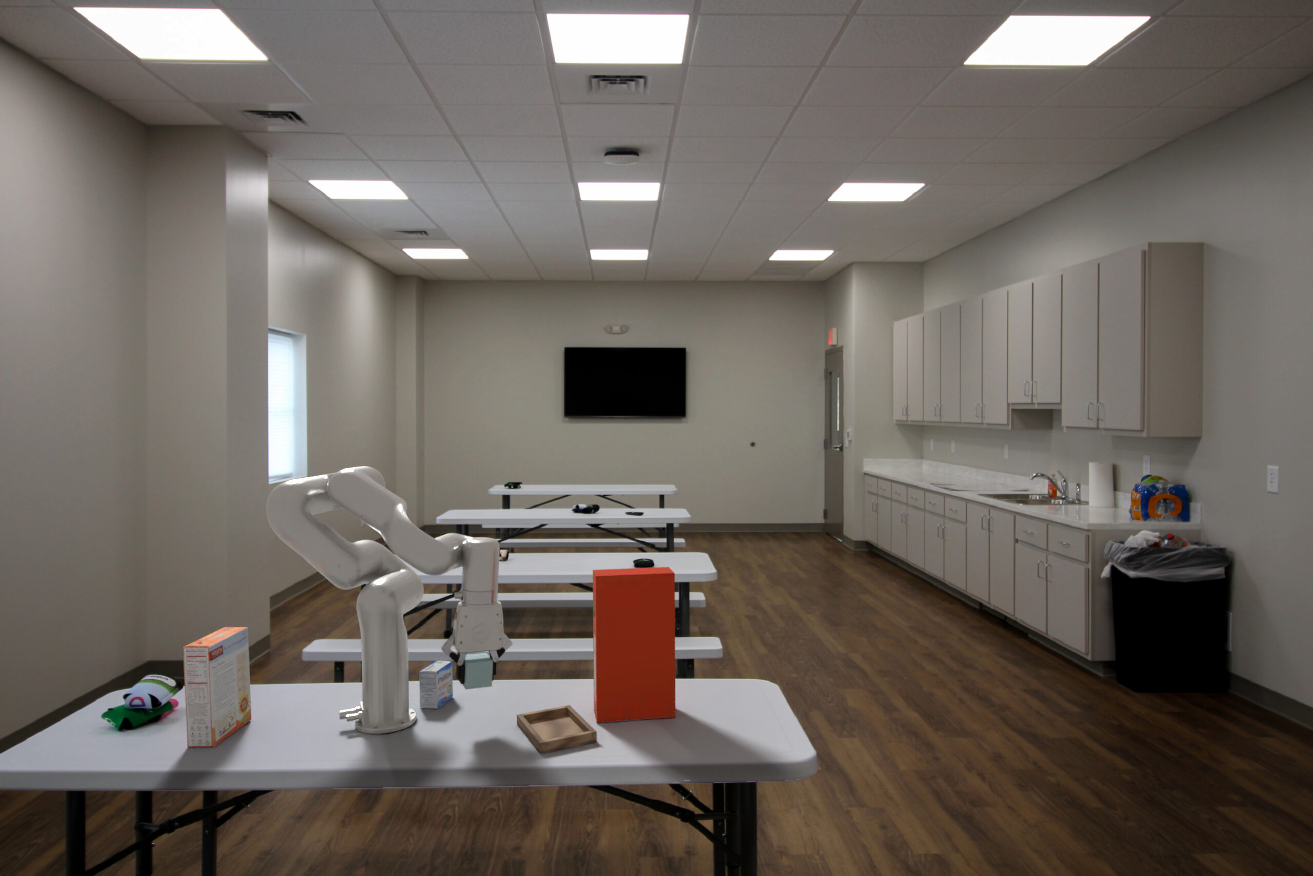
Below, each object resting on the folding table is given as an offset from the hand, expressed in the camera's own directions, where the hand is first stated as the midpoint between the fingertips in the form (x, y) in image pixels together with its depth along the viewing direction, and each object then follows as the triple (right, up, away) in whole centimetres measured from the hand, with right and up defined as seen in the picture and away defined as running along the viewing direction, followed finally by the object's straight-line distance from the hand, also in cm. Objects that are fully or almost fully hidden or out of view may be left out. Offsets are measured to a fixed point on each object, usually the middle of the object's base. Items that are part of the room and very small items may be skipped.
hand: (475, 679), depth 164 cm
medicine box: (-13, -10, +14) cm, 22 cm away
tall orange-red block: (+34, -10, +7) cm, 36 cm away
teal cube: (0, -1, 0) cm, 1 cm away
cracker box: (-53, -11, -2) cm, 54 cm away
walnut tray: (+17, -10, -3) cm, 20 cm away
